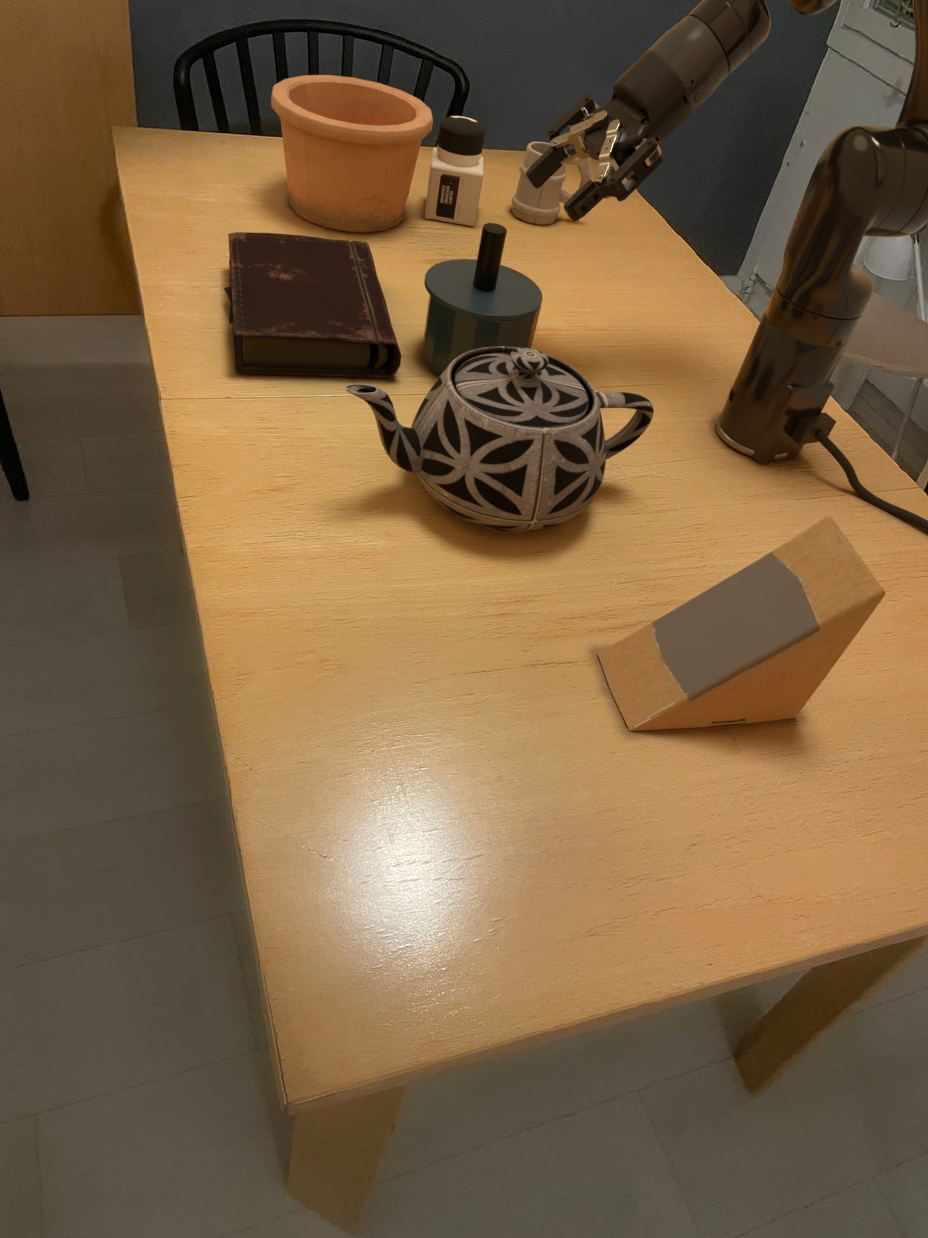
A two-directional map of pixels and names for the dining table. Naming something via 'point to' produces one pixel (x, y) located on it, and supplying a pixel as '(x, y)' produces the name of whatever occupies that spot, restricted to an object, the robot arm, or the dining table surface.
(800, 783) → the dining table surface
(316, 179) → the pottery
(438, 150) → the container
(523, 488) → the teapot
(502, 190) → the dining table surface
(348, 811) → the dining table surface
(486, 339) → the pot
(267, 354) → the diary
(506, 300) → the lid
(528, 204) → the mug
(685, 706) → the sandwich container
